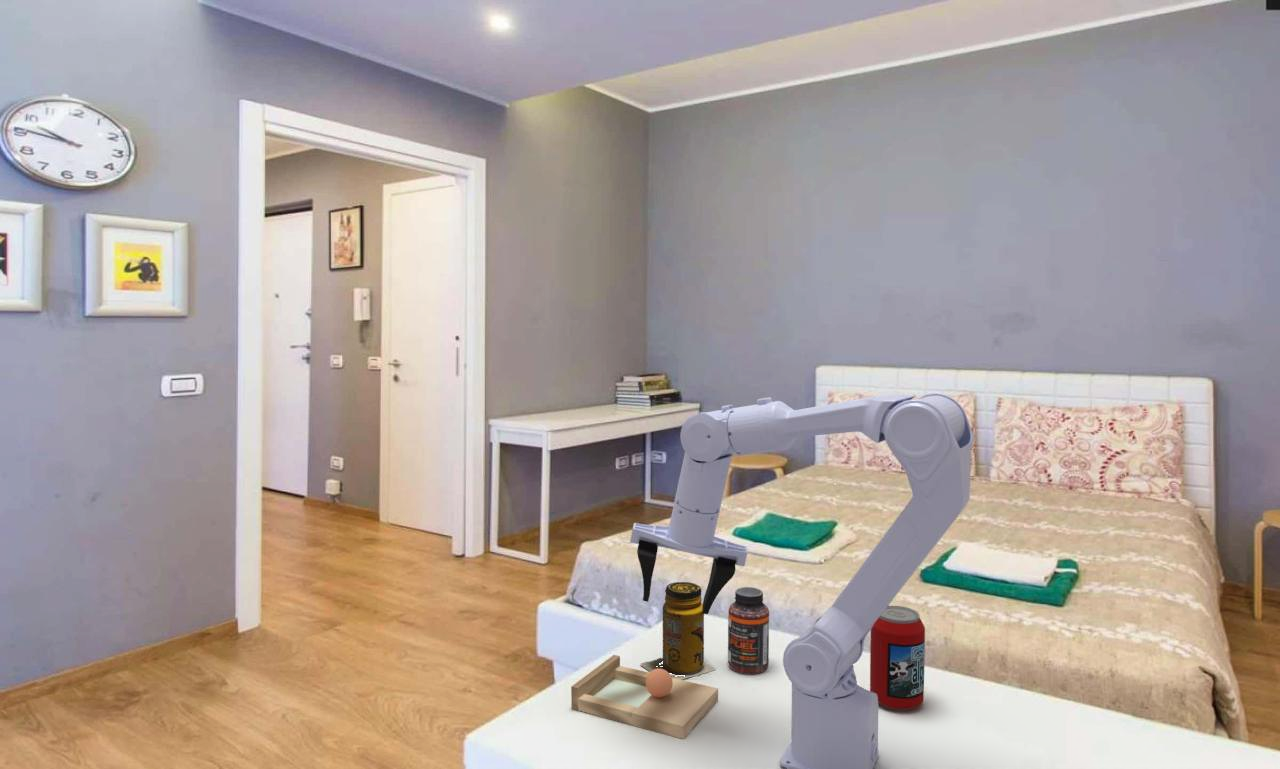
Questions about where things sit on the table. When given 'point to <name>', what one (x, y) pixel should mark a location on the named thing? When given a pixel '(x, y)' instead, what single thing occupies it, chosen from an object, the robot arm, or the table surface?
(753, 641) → the supplement bottle
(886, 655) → the beverage can
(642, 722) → the board
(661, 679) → the ball
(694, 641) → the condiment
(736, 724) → the table surface
